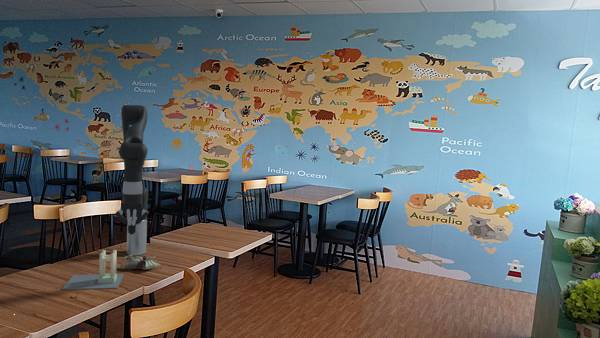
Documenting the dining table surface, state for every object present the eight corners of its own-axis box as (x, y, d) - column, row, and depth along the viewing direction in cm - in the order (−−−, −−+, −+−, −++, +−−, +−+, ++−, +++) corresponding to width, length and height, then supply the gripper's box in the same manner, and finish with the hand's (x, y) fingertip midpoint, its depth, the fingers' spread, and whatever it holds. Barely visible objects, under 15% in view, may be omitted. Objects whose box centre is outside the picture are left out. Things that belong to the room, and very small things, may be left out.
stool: (101, 278, 185) (101, 250, 184) (116, 278, 186) (117, 250, 185) (98, 283, 179) (98, 254, 178) (114, 283, 180) (114, 254, 179)
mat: (73, 275, 187) (73, 274, 187) (123, 274, 191) (123, 273, 191) (61, 289, 171) (61, 288, 171) (117, 288, 176) (117, 287, 176)
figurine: (139, 249, 213) (171, 254, 209) (138, 262, 213) (170, 266, 209) (112, 258, 193) (147, 263, 189) (111, 272, 193) (146, 277, 190)
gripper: (150, 191, 186) (149, 231, 188) (116, 190, 183) (116, 231, 185) (148, 193, 179) (147, 236, 181) (113, 193, 176) (112, 236, 178)
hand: (131, 233), depth 183 cm, fingers closed
